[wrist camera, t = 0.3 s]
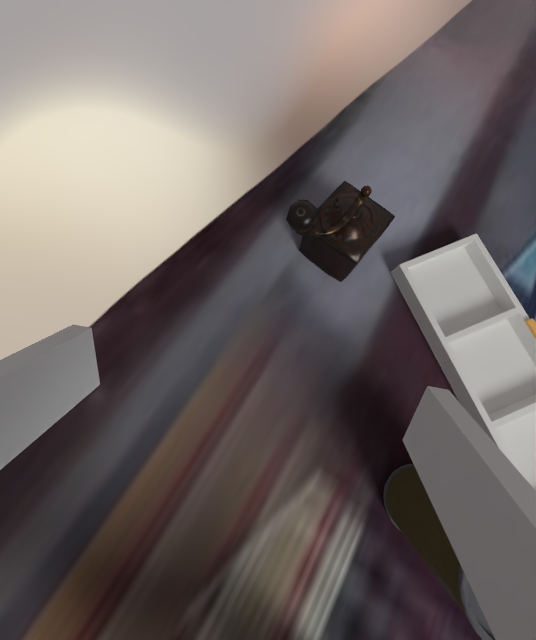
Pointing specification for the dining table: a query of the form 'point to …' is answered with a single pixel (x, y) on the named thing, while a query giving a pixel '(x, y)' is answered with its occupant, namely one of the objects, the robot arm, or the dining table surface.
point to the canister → (431, 540)
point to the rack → (479, 342)
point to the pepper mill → (339, 228)
